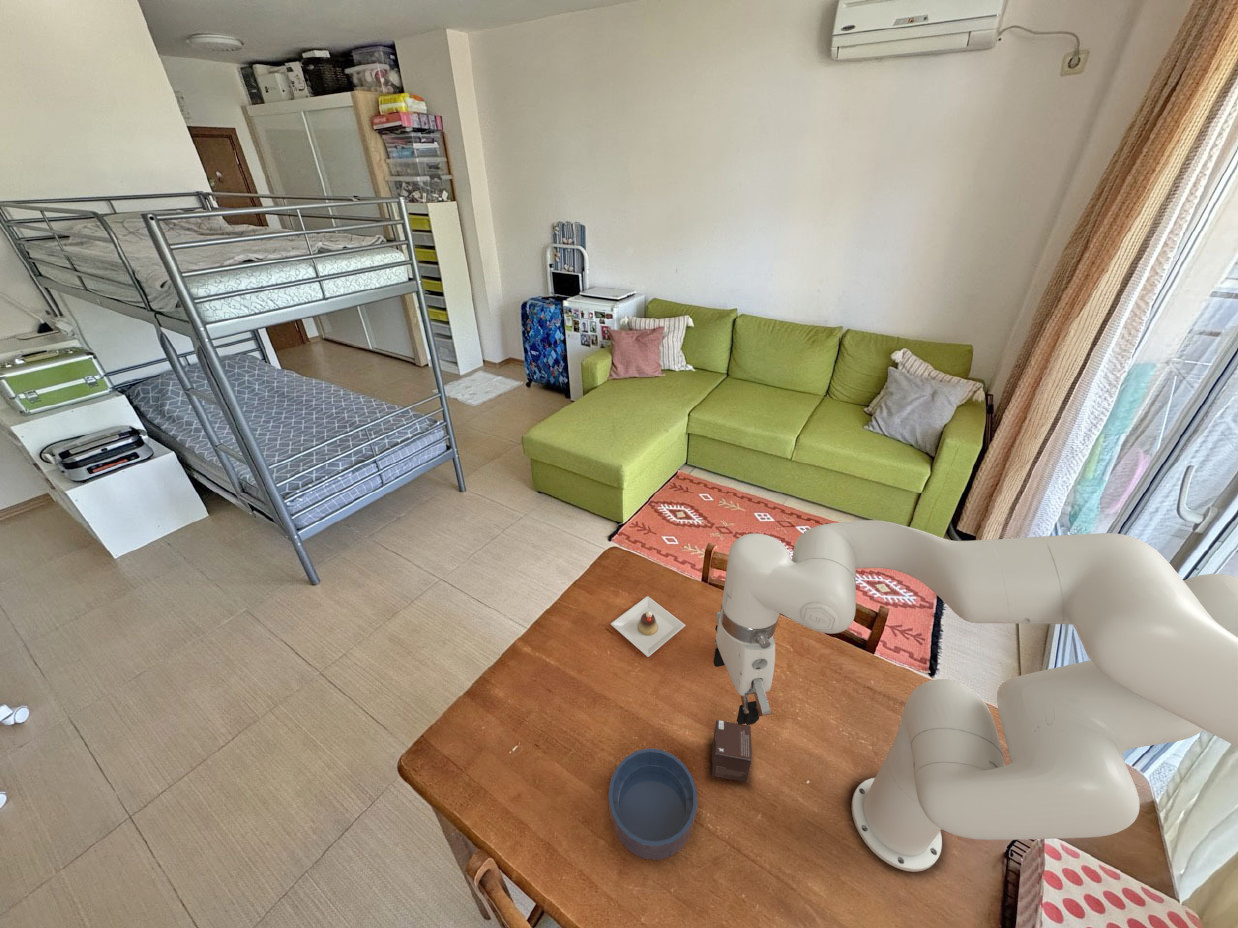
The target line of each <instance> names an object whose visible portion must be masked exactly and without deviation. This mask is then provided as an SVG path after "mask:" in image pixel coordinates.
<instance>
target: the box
mask: <svg viewBox="0 0 1238 928" xmlns="http://www.w3.org/2000/svg"><path fill="white" fill-rule="evenodd" d="M711 748H712V749H711V777H715V778H720V779H724V780H725V779H726V780H731V781H736V782H737V781H738V782H742V783H747V782H748V779H749V775H750V768H751V763H752V757H753V753H752V727H751V725H746V724H741V725H738V723H737V722H730V721H724V720H720V719H719V720H718V719H715V723H714V731H713V738H712V747H711Z"/></svg>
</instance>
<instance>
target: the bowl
mask: <svg viewBox="0 0 1238 928" xmlns="http://www.w3.org/2000/svg"><path fill="white" fill-rule="evenodd" d="M695 783H696V782H695V781H694V777H693V775H692V774H691V772H690V771H689V769H688V766H686V764H685V763H684V762H683V761H681V760H680V759H679V757H677V756H676V755H674V754H672V753H670V752H668V751H666V750H664V749H659V748H650V747H649V748H643V749H639V750H635V751H634V752H632V753H630V754H628V755H627V756H625V757H624V758H623V759H622V760H621V761H620V762H619V764H618V765H617V766H616V768H615V769H614V771H613V773H612V776H611V778H610V781H609V787H608V793H607V794H608V795H607V798H608V807H609V808H608V811H609V817H610V818H609V819H610V823H611V827H612V829H613V831H614V833H615V835H616V838H617V839H618V841H619V842H620V843H621V844H622V845H623V846H624V847H625V848H626V849H627V850H628V852H630V853H632V854H633V855H636V856H637V857H639V858H641V859H646V860H653V861H658V860H662V859H667V858H671V857H672V856H673V855H675V854H677V853H678V852H680V851H681V850H682V849H683V848H684V847H685V846H686V844H687V842H688V841H689V840H690V839H691V836H692V833H693V830H694V827H695V823H696V818H697V810H698V790H697V787H696V784H695Z"/></svg>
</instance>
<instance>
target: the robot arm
mask: <svg viewBox="0 0 1238 928" xmlns="http://www.w3.org/2000/svg"><path fill="white" fill-rule="evenodd" d="M727 556H728V557H727V563H726V571H725V578H724V587H723V592H722V600H721V604H720V605H721V606H720V611H716V612H715V619H716V625H715V630H714V631H716V632H715V633H716V636H715V639H714V645H715V647H716V648H715V649H714V655H713V661H712V662H713V665H714V667H715V668H719V667H724V666H725V668H726V672H727V673H728V675H729V678H730V680H731V682H732V685H733V687H734V689H735V691H736V693H738V695H740V699H741V704H740V705H739V708H738V712H737V717H736V723H737V724H738V725H741V724H743V725H749V726H751V725H754V724H756V723H757V722H758V721H759V720H760V717H764V716H769V715H771V714H772V711H771V710H772V709H771V706H770V703H769V700H768V697H767V694H766V693H767V692H768V693H769V692H770V690H771V688H772V683H773V678H774V674H775V673H774V672H775V665H776V640H775V638H774V636H775V634H776V631H777V626H778V622H779V618H780V615H782V616H784V617H786V618H787V619H789V620H791V621H793V622H795V623H797V624H799V625H801V626H803V627H806V628H807V629H810V630H812V631H815V632H818V633H822V634H830V635H831V634H839V633H842V632H844V631H846V630H847V629H849V628H850V627H851V626H852V624H853V622H854V620H855V617H856V610H857V608H856V607H857V604H856V603H857V601H856V600H857V593H856V592H857V589H856V588H857V569H884V570H892V571H896V572H899V573H903V574H905V575H908V576H910V577H912V578H913V579H915V580H917V581H919V582H920V583H921V584H923V585H925V586H926V587H927V588H928V589H930V590H931V591H932V592H933V593H934V594H935V595H936V596H937V597H938V598H939V599H941V600H942V602H944V603H945V604H946V606H947V607H948V608H950V610H951V611H953V613H954V614H956V616H957V617H959V618H960V619H962V620H963V621H966V622H969V623H972V624H1018V625H1019V624H1025V625H1026V624H1029V625H1030V624H1031V625H1034V624H1035V625H1042V624H1043V625H1072V626H1073V627H1074V630H1075V632H1076V634H1077V636H1078V638H1079V640H1080V642H1081V645H1082V647H1083V649H1084V651H1085V653H1086V655H1087V657H1088V658H1089V660H1086V661H1081V662H1076V663H1071V664H1067V665H1061V666H1057V667H1053V668H1048V669H1043V670H1038V671H1035V672H1030V673H1025V674H1020V675H1017V676H1014V677H1012V678H1008V679H1006V680H1005V681H1003V682H1002V683H1001V684H1000V685H999V686H998V689H997V691H996V705H997V710H998V715H999V719H1000V723H1001V728H1002V732H1003V735H1004V739H1005V743H1006V747H1007V751H1008V755H1009V760H1010V763H1008V764H1005V756H1004V753H1003V750H1002V745H1001V741H1000V737H999V733H998V728H997V725H996V722H995V720H994V716H993V715H992V713H991V710H990V708H989V706H988V705H987V703H986V702H985V701H984V699H983V698H982V697H981V696H980V695H979V694H978V693H977V692H976V691H975V690H974V689H972V688H971V687H969V686H967V685H966V684H964V683H962V682H959V681H956V680H952V679H947V678H946V679H945V678H937V679H936V678H935V679H931V680H926V681H924V682H922V683H921V684H919V685H918V686H916V687H915V688H914V689H913V690H912V691H911V693H910V694H909V696H908V697H907V700H906V702H905V703H904V707H903V709H902V714H901V719H900V723H899V725H898V726H899V727H898V730H897V733H896V735H895V738H894V739H893V742H892V744H891V746H890V748H889V750H888V751H887V753H886V755H885V758H884V759H883V761H882V763H881V766H880V767H879V769H878V772H877V773H876V775H875V777H870V778H868V779H865V780H863V781H862V782H861V783H860V784H859V785H858V786H857V788H856V789H855V790H854V792H853V796H852V799H851V816H852V819H853V822H854V825H855V828H856V830H857V832H858V834H859V836H860V837H861V838H862V840H863V842H864V843H865V845H866V846H867V847H869V849H870V850H871V851H872V852H873V853H874V854H875V855H876V856H877V857H878V858H879V859H880V860H882V861H884V862H885V863H886V864H888V865H890V866H892V867H894V868H896V869H898V870H902V871H905V872H910V873H911V872H912V873H916V872H917V873H918V872H923V871H926V870H927V869H930V868H932V866H934V864H935V863H936V862H937V861H938V859H939V858H940V855H941V853H942V848H943V838H942V837H943V836H942V831H944V832H946V833H949V834H950V835H953V836H957V837H960V838H964V839H969V840H970V839H971V840H977V841H978V840H979V841H1013V840H1014V841H1017V840H1021V841H1023V840H1055V839H1056V840H1059V839H1061V840H1062V839H1087V838H1088V839H1089V838H1099V837H1107V836H1111V835H1115V834H1117V833H1120V832H1121V831H1124V830H1126V829H1128V828H1129V827H1130V826H1132V825H1133V824H1134V823H1135V821H1136V820H1137V819H1138V817H1139V812H1140V807H1141V806H1140V797H1139V794H1138V790H1137V787H1136V784H1135V782H1134V780H1133V778H1132V775H1131V773H1130V771H1129V768H1128V766H1127V764H1126V761H1125V759H1124V756H1123V755H1124V753H1125V752H1126V751H1129V750H1133V749H1137V748H1142V747H1150V746H1155V745H1161V744H1170V743H1176V742H1180V741H1185V740H1187V739H1190V738H1193V737H1194V736H1197V735H1199V734H1201V733H1203V732H1204V731H1206V732H1208V733H1209V734H1211V735H1213V736H1215V737H1217V738H1220V739H1221V740H1223V741H1225V742H1227V743H1229V744H1231V745H1232V746H1234V747H1237V748H1238V577H1237V576H1234V575H1231V574H1224V573H1206V574H1199V575H1195V576H1192V577H1188V578H1187V579H1185V580H1184V579H1183V578H1182V577H1181V575H1180V574H1179V573H1178V572H1177V571H1176V570H1175V568H1174V567H1173V566H1172V564H1171V563H1170V562H1169V561H1168V560H1167V559H1166V557H1164V556H1163V555H1162V553H1160V552H1159V551H1158V550H1157V549H1156V548H1154V547H1153V546H1152V545H1150V544H1149V543H1147V542H1145V541H1144V540H1142V539H1139V538H1137V537H1134V536H1131V535H1128V534H1122V533H1116V532H1115V533H1114V532H1101V533H1098V532H1097V533H1079V534H1078V533H1077V534H1061V535H1044V536H1043V535H1042V536H1030V537H1013V538H1011V537H1010V538H995V539H994V538H993V539H990V538H989V539H976V540H975V539H974V540H954V539H953V540H951V539H947V538H944V537H941V536H938V535H936V534H933V533H930V532H928V531H924V530H921V529H918V528H914V527H910V526H907V525H904V524H899V523H897V522H891V521H885V520H875V519H865V520H864V519H863V520H850V521H840V522H839V521H838V522H831V523H830V522H829V523H824V524H819V525H816V526H813V527H811V528H809V529H807V530H805V531H804V532H802V533H801V534H800V535H799V536H798V538H797V539H796V541H795V543H794V546H793V550H792V556H791V555H790V552H789V550H788V548H787V547H786V546H785V544H784V543H783V542H781V541H780V540H779V539H777V538H775V537H773V536H771V535H768V534H765V533H758V532H757V533H754V532H753V533H747V534H744V535H741V536H740V537H738V538H736V540H734V541H733V543H732V544H731V546H730V548H729V551H728V555H727ZM748 695H754V700H753V701H749V699H748Z"/></svg>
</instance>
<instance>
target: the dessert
mask: <svg viewBox="0 0 1238 928" xmlns="http://www.w3.org/2000/svg"><path fill="white" fill-rule="evenodd" d="M610 625H611V627H613V628H614V629H615V630H616V631H618V633H620V634H621V635H622V636H623V637H625V639H627V640H628V641H629V642H630V643H631V644H632V645H634V646H635V647H636V648H637V649H638V650H639V651H640V652H641V653H642V654H643V655H645V656H646V657H647V658H649V657H651V656H652V654H654V653H655V652H656V651H658V649H660V648H661V647H662V646H664V645H665V644H666V643H667V642H668V641H669V640H671V639H672V638H673V637H674V636H675V635H677V634H678V633H679V632H680V631H681V630H683V629H684V627H686V624H685V623H684V622H682V621H681V620H680V619H679V618H677V616H674V614H672V613H671V612H669V611H668V610H667V609H665V608H664V607H663V606H661V605H660V604H659V603H657V602H656V601H655V600H654V599H652V598H651V597H650V596H648V595H647V596H645V597H644V598H643V599H641V600H640V601H639V602H637V603H636V604H635V605H633V606H632V607H630V609H627V610H626V611H625V612H623V613H622V614H621V615H620V616H618V617H617V618H616V619H615V620H613V621H612V622H610Z"/></svg>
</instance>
